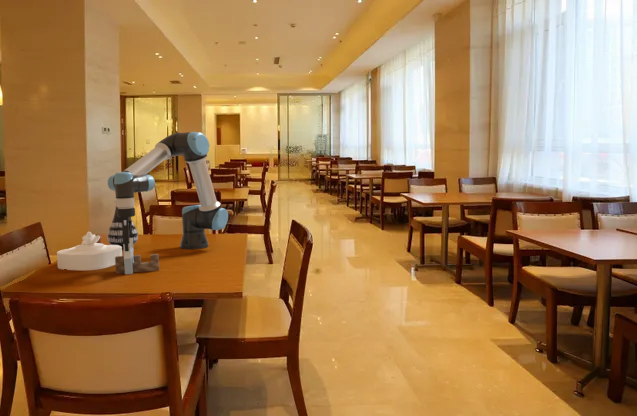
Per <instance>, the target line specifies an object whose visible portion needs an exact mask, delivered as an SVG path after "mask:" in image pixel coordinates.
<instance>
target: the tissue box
mask: <svg viewBox="0 0 637 416" xmlns="http://www.w3.org/2000/svg"><path fill="white" fill-rule="evenodd" d="M92 234H94V235H92ZM95 234H96V233H92V232H91V231H87V232H86V234H85V235H86V236H84V235H83V236H82V237H81V239H82V241H81V244H77V245H76V246H73V247H70V248H65V249H61V250H58V251H57V252H56V259H57V269H59V270H64V269H67V270H68V271H95V270H103V269H106V268H110V267H113V266H115V257H116V256H123V250H122V247H121V246H119V245H110V244H104V243H96V242H97V241H98V240H99V239H100V236H99V235H97V236H95ZM67 270H66V271H67Z"/></svg>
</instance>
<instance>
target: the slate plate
mask: <svg viewBox="0 0 637 416" xmlns="http://www.w3.org/2000/svg"><path fill="white" fill-rule="evenodd" d="M130 250H131V258H129V259H124V266H125V273H124V275H133V273H134V272H133V267H132V264H133V263H134V258H133V256H134V252H133V250H134V246H133V247H132V248H130Z"/></svg>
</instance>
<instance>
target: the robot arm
mask: <svg viewBox="0 0 637 416" xmlns="http://www.w3.org/2000/svg"><path fill="white" fill-rule="evenodd" d="M209 151H210V141H209V140H208V138H207V136H206V135H205V134H204V133H202V132H197V131H190V132H189V131H188V132H175V133H171V134H170V135H168V136H166V137H165V138H163V139H162V140H159V141H158V142H157V143H155V145H154V148H152V149H151V150H150V151H148V152H147V153H146V154H144V155H143V156H141V157H140V158H139V159H137V161H135V162H133V163H132V164H131V165H129V166H128V167H127V168H126V169H124V170H123V171H120V172H119V171H117V172H116V173H115V174H112V175H110V176H109V177H108V179H107V187H108V188H109V189H110V190H111V191H114V192H115V200H114V203H115V207H116V206H117V207H118V209H117V217H123V221H122V234H123V241H122V242H121V244H123V248H124V249H123V256H124V259H129V258H131V250H130V248H132V247H133V248H134V245H133V238H131V237H134V235H133V233H132V222H133V220H132V218H133V217H135V216H136V208H135V206H136V205H135V202H136V201H135V193H144V192H150V191H153V189H154V188H155V186H156V182H155V178H154V177H153V176H152V175H151V174H149V173H150V172H151V171H152V170H154V169H155V168H156V167H157V166H159V165H160V164H161V163H163V162H164V161H165V160H166V161H168V160H170V159H171V158H172V157H177V156H183V159H184V162H186V163H187V164H188V166H189V169H190V172H191V176H192V179H193V182H194V186H195V189H196V193H197V196H198V200H199V203H200V204H196V205H188V206H184V207H182V209H181V219H182V222H181V223H182V235H181V240H180V243H179V244H180V246H179V247H180V249H182V250H183V249H184V250H199V249H204V248H205V249H206V248H208V247H209V240H208V238H207V235H206V232H205V230H213V231H218V230H222V229H224V228H225V227H226V226H227V223H228V220H229V212H228V210H227V209H226V208H224V207H222V204H221V202H220V201H218V200H217V197H216V194H215V190H214V186H213V183H212V179H211V175H210V171H209V168H208V165H207V161H206V159H207V157H208V152H209ZM116 203H117V204H116ZM134 251H135V250H134V249H133V253H134Z"/></svg>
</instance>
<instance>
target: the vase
mask: <svg viewBox="0 0 637 416" xmlns="http://www.w3.org/2000/svg"><path fill="white" fill-rule="evenodd" d="M116 204H117V203H115V210H114V215H113V217H112V221H111V223H110V226H109V228H108V230H107V235H106V238H107V242H108V243H109V245H119V246H121V247H122V251H124V248H123V244H121V242H122V241H123V234H122V221H123V217H117V209H118V207H117V206H116ZM132 233H133V235H134V237H131V238H133V246H134V245H135V244H137V242H138V239H139V232H138V229H137V227H136V226H135V224H134V222H133V221H132Z"/></svg>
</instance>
